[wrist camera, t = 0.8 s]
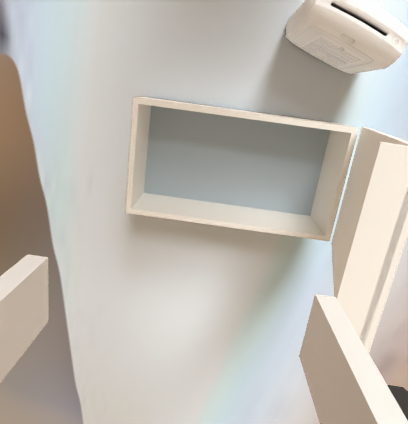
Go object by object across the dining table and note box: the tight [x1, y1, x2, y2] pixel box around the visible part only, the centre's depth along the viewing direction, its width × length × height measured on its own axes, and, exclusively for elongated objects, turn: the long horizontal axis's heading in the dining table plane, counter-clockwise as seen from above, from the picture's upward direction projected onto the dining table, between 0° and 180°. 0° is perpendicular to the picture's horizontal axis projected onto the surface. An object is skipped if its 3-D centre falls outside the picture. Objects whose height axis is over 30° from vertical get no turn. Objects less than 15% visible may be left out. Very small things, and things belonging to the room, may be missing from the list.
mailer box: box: [126, 97, 359, 241], centre depth 43 cm, size 13×24×8 cm, turn 83°
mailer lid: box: [331, 127, 408, 353], centre depth 28 cm, size 13×25×2 cm
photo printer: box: [285, 0, 408, 74], centre depth 37 cm, size 10×4×12 cm, turn 63°
